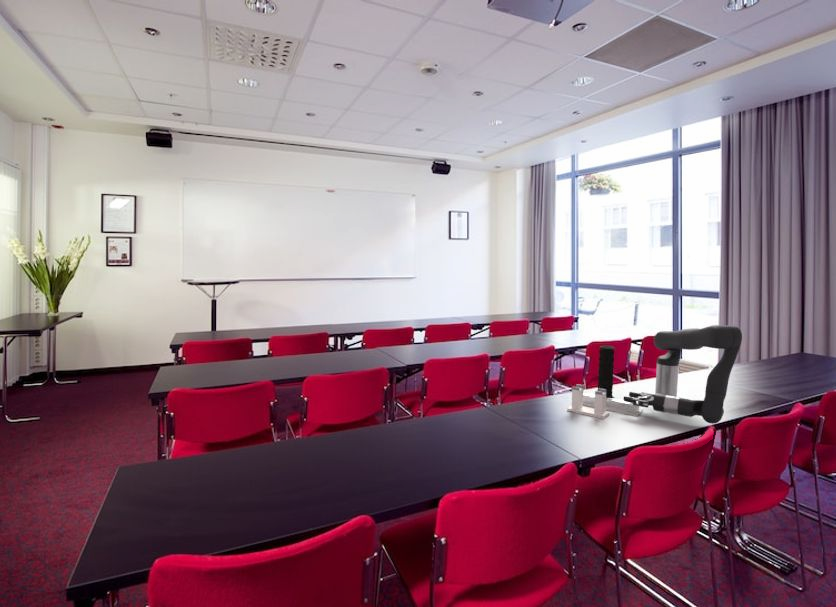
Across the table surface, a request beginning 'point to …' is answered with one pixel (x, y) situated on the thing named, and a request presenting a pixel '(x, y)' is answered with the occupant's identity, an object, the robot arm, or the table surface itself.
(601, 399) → the rack
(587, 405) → the mat
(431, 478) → the table surface
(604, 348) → the handle grip
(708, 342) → the robot arm
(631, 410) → the rail
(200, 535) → the table surface
